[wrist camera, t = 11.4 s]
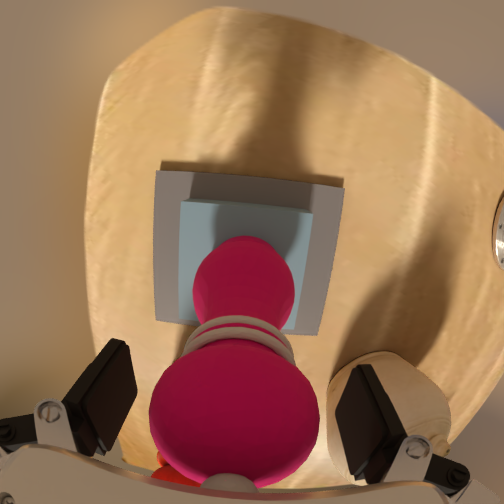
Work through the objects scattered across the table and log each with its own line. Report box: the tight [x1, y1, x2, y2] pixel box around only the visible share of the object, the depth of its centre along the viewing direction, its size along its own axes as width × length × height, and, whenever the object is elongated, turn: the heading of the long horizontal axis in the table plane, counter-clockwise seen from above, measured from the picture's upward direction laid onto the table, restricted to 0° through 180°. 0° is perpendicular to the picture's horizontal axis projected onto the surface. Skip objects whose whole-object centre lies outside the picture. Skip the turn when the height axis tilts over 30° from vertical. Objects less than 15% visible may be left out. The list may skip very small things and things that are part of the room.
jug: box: [326, 351, 451, 486], centre depth 20 cm, size 15×16×25 cm
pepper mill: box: [149, 235, 320, 493], centre depth 14 cm, size 7×7×20 cm
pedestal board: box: [153, 171, 345, 336], centre depth 25 cm, size 18×16×4 cm
